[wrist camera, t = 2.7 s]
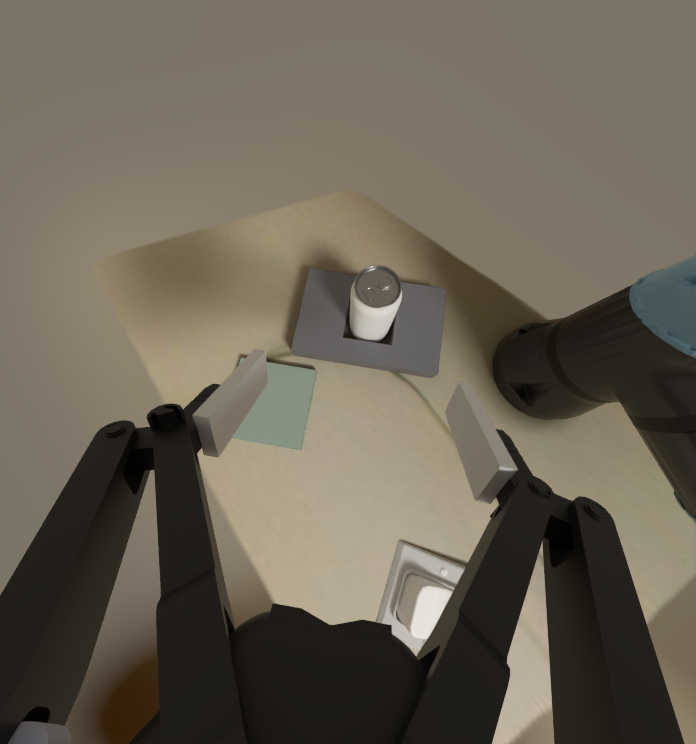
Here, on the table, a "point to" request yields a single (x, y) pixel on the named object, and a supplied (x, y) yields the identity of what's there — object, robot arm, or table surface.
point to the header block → (403, 355)
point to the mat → (280, 408)
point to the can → (374, 302)
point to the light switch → (417, 593)
